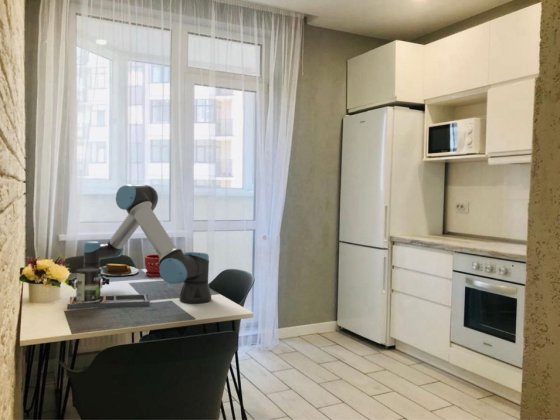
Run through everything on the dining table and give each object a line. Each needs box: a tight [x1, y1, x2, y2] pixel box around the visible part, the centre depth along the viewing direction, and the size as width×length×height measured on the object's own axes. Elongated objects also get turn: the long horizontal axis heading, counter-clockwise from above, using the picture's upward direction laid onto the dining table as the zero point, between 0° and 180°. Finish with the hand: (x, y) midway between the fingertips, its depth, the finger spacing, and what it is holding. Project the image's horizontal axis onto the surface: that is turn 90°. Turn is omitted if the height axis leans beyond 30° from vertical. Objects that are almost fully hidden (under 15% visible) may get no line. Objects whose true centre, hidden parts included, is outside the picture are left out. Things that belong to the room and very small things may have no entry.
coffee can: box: [75, 267, 102, 303], centre depth 212 cm, size 10×10×14 cm
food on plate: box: [100, 263, 140, 277], centre depth 290 cm, size 25×25×7 cm
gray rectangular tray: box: [66, 293, 150, 310], centre depth 215 cm, size 34×16×2 cm, turn 109°
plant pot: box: [144, 254, 161, 278], centre depth 288 cm, size 13×13×12 cm
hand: (88, 285), depth 208 cm, fingers closed on coffee can, 10 cm apart
